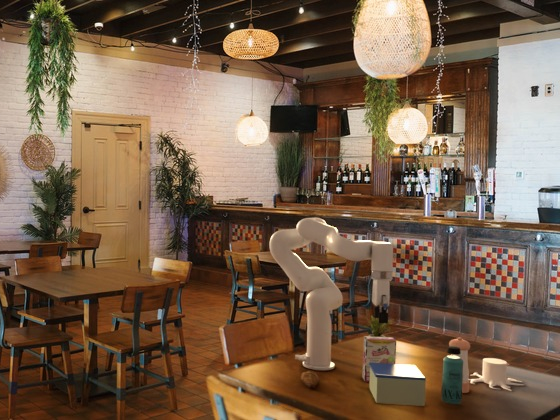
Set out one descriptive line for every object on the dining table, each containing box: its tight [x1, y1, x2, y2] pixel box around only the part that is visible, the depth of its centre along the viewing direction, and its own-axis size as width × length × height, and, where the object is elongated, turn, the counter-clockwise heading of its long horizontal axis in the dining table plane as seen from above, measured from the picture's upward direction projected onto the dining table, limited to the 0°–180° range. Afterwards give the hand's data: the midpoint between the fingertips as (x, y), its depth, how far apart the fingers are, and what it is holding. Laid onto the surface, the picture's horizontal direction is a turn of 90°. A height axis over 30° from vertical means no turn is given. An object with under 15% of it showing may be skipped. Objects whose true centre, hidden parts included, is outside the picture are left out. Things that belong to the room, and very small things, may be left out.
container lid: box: [369, 362, 427, 380], centre depth 226 cm, size 16×16×1 cm
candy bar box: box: [361, 335, 397, 383], centre depth 244 cm, size 11×5×16 cm, turn 84°
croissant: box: [300, 370, 320, 389], centre depth 240 cm, size 14×7×5 cm, turn 174°
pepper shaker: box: [448, 336, 471, 394], centre depth 235 cm, size 7×7×19 cm
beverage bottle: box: [440, 346, 464, 405], centre depth 218 cm, size 6×7×20 cm
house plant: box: [363, 314, 396, 337], centre depth 288 cm, size 14×14×16 cm
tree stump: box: [468, 357, 525, 392], centre depth 245 cm, size 20×19×8 cm
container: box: [369, 368, 427, 407], centre depth 226 cm, size 16×16×9 cm
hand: (381, 320), depth 243 cm, fingers open, 9 cm apart
